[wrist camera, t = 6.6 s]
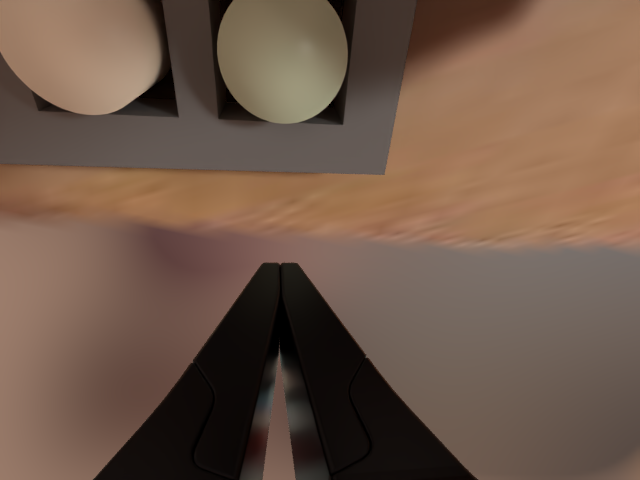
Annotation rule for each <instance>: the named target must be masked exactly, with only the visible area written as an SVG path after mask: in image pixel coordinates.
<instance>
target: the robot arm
mask: <svg viewBox="0 0 640 480" xmlns="http://www.w3.org/2000/svg"><path fill="white" fill-rule="evenodd" d="M279 348H280V361H281V369H282V377H283V385H284V392H285V401H286V408H287V416H288V424H289V432H290V439H291V447H292V455H293V463H294V470H295V478H296V480H478V479H477V478H476V477H474V476H473V475H472V474H471V473H470V472H469V471H468V470H467V469H466V468H465V467H464V466H463V465H462V464H461V463H460V461H458V459H457V458H456V457H455V456H454V455H453V454H452V453H451V452H450V451H449V450H448V449H447V448H446V447H445V445H444V444H443V443H442V442H441V441H440V440H439V439H438V438H437V437H436V436H435V435H434V434H433V433H432V432H431V431H430V429H429V428H428V427H427V426H426V425H425V424H424V423H423V422H422V421H421V420H420V419H419V418H418V417H417V416H416V415H415V413H414V412H413V411H412V410H411V409H410V408H409V407H408V406H407V405H406V404H405V402H404V401H403V400H402V399H401V398H400V397H399V396H398V395H397V394H396V392H395V391H394V390H393V389H392V388H391V386H390V385H389V384H388V383H387V381H386V380H385V379H384V378H383V377H382V375H381V374H380V373H379V371H378V370H377V369H376V367H375V366H374V365H373V363H372V362H371V361H370V359H369V358H366V354H365V353H364V351H363V350H362V349H361V347H360V346H359V345H358V343H357V342H356V341H355V339H354V338H353V337H352V335H351V334H350V333H349V331H348V330H347V329H346V328H345V326H344V325H343V324H342V322H341V321H340V319H339V318H338V317H337V315H336V314H335V313H334V312H333V310H332V309H331V307H330V306H329V305H328V303H327V302H326V301H325V299H324V298H323V297H322V295H321V294H320V293H319V291H318V290H317V289H316V287H315V286H314V285H313V283H312V282H311V281H310V279H309V278H308V277H307V275H306V274H305V273H304V271H303V270H302V269H301V267H300V266H299V265H298V264H297V263H282V264H281V265H280V264H279V263H263V264H262V265H261V266H260V267H259V269H258V270H257V271H256V273H255V274H254V276H253V277H252V278H251V280H250V281H249V283H248V284H247V285H246V287H245V288H244V290H243V291H242V293H241V294H240V295H239V297H238V298H237V299H236V301H235V302H234V304H233V305H232V307H231V308H230V309H229V311H228V312H227V314H226V315H225V316H224V318H223V319H222V320H221V322H220V323H219V325H218V326H217V327H216V329H215V330H214V332H213V333H212V334H211V336H210V337H209V339H208V340H207V342H206V343H205V344H204V346H203V347H202V349H201V350H200V351H199V353H198V354H197V356H196V357H195V358H194V359H193V363H191V364H190V365H189V366H188V368H187V369H186V370H185V372H184V373H183V375H182V376H181V377H180V379H179V380H178V381H177V383H176V384H175V385H174V387H173V388H172V389H171V391H170V392H169V393H168V395H167V396H166V397H165V398H164V400H163V401H162V402H161V403H160V405H159V406H158V407H157V408H156V409H155V410H154V412H153V413H152V414H151V415H150V416H149V417H148V418H147V420H146V421H145V422H144V423H143V424H142V426H141V427H140V428H139V429H138V430H137V431H136V432H135V433H134V435H133V436H132V437H131V438H130V439H129V440H128V441H127V442H126V443H125V445H124V446H123V447H122V448H121V449H120V450H119V451H118V452H117V454H116V455H115V456H114V457H113V458H112V459H111V460H110V461H109V462H108V464H107V465H106V466H105V467H104V468H103V469H102V470H101V471H100V472H99V474H98V475H97V476H96V477H95V478H94V479H93V480H262V479H263V471H264V464H265V455H266V448H267V441H268V433H269V426H270V418H271V410H272V403H273V395H274V387H275V379H276V372H277V365H278V356H279Z"/></svg>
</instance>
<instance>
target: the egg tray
mask: <svg viewBox="0 0 640 480" xmlns="http://www.w3.org/2000/svg"><path fill="white" fill-rule="evenodd" d="M162 3H163V10H164V17H165V24H166V31H167V38H168V45H169V52H170V59H171V66H172V73H173V79H174V86H175V93H176V100H173V99H154V98H136V99H134V100H133V101H131V102H130V103H129V104H127V105H126V106H124V107H123V108H121V109H119V110H117V111H115V112H112V113H108V114H102V115H85V114H79V113H75V112H71V111H68V110H65V109H62V108H60V107H58V106H56V105H54V104H52V103H50V102H48V101H47V100H45V99H43V98H42V97H40V96H39V95H38V94H36V93H35V92H34V91H32V90H31V89H30V88H29V87H28V86H27V85H25V84H24V83H23V82H22V81H21V80H20V79H19V78H18V76H17V75H16V74H15V73H14V72H13V70H12V69H11V68H10V66H9V65H8V64H7V62H6V61H5V59H4V58H3V56H2V54H1V52H0V164H26V165H61V166H96V167H131V168H165V169H200V170H235V171H270V172H305V173H340V174H374V175H384V174H385V169H386V164H387V158H388V153H389V148H390V142H391V137H392V132H393V126H394V121H395V116H396V110H397V105H398V100H399V95H400V89H401V84H402V79H403V73H404V68H405V63H406V57H407V52H408V47H409V41H410V36H411V31H412V26H413V20H414V15H415V10H416V4H417V0H344V8H343V19H342V25H343V29H344V32H345V35H346V41H347V49H348V60H347V68H346V73H345V77H344V80H343V82H342V85H341V87H340V89H339V91H338V93H337V95H336V96H335V105H334V108H327V107H326V108H325V109H324V110H322V111H321V112H320V113H318V114H317V115H315V116H314V117H312V118H309V119H307V120H305V121H301V122H298V123H291V124H281V123H273V122H269V121H266V120H263V119H261V118H259V117H257V116H255V115H253V114H252V113H250V112H249V111H247V110H246V109H245V108H244V107H243V106H242V105H240V104H239V103H231V102H226V89H225V82H224V79H223V77H222V74H221V71H220V67H219V63H218V56H217V40H218V33H219V28H220V24H221V18H220V3H219V0H162Z"/></svg>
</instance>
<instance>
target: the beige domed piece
mask: <svg viewBox="0 0 640 480" xmlns="http://www.w3.org/2000/svg"><path fill="white" fill-rule="evenodd" d="M0 52H1V54H2V56H3V58H4V59H5V61H6V62H7V64H8V65H9V66H10V68H11V69H12V70H13V72H14V73H15V74H16V75H17V76H18V78H19V79H20V80H21V81H22V82H23V83H24V84H25V85H27V86H28V87H29V88H30V89H31V90H32V91H34V92H35V93H36V94H38V95H39V96H40V97H42V98H43V99H45V100H47V101H48V102H50V103H52V104H54V105H56V106H58V107H60V108H62V109H65V110H68V111H71V112H75V113H79V114H85V115H102V114H108V113H112V112H115V111H117V110H119V109H121V108H123V107H124V106H126V105H127V104H129V103H130V102H131V101H133V100H134V99H136V98H137V97H138V96H140V95H141V94H142V93H144V92H145V91H147V90H148V89H149V88H151V87H152V86H154V85H155V84H156V83H158V82H159V81H161V80H162V79H163V78H164V77H165V76H166V74H167V73H168V71H169V70H170V68H171V59H170V52H169V45H168V38H167V31H166V24H165V17H164V10H163V4H162V3H161V1H160V0H0Z"/></svg>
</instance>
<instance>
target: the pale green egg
mask: <svg viewBox="0 0 640 480" xmlns="http://www.w3.org/2000/svg"><path fill="white" fill-rule="evenodd" d="M217 56H218V63H219V67H220V71H221V74H222V77H223V79H224V82H225V84H226V86H227V87H228V89H229V91H230V92H231V94H232V95H233V97H234V98H235V99H236V100H237V101H238V102H239V104H240V105H242V106H243V107H244V108H245V109H246V110H247V111H249V112H250V113H252V114H253V115H255V116H257V117H259V118H261V119H263V120H266V121H269V122H273V123H281V124H291V123H298V122H301V121H305V120H307V119H309V118H312V117H314V116H315V115H317V114H318V113H320V112H321V111H322V110H324V109H325V108H326V107H327V106H328V105H329V104H330V103H331V101H332V100H333V99H334V97H335V96H336V95H337V93H338V91H339V89H340V87H341V85H342V82H343V80H344V77H345V73H346V68H347V60H348V49H347V41H346V35H345V32H344V29H343V25H342V23H341V21H340V19H339V16H338V15H337V13H336V11H335V10H334V8H333V7H332V6H331V4H330V3H329V2H328V1H327V0H233V2H232V3H231V4H230V6H229V7H228V9H227V11H226V13H225V14H224V16H223V19H222V22H221V24H220V28H219V33H218V40H217Z"/></svg>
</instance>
